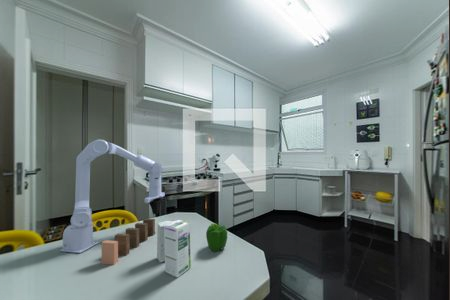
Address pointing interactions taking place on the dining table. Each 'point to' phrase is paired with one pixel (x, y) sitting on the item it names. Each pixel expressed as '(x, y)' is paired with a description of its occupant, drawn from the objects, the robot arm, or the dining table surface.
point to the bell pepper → (216, 237)
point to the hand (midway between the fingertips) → (155, 213)
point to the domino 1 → (109, 252)
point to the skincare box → (161, 240)
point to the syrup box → (177, 247)
